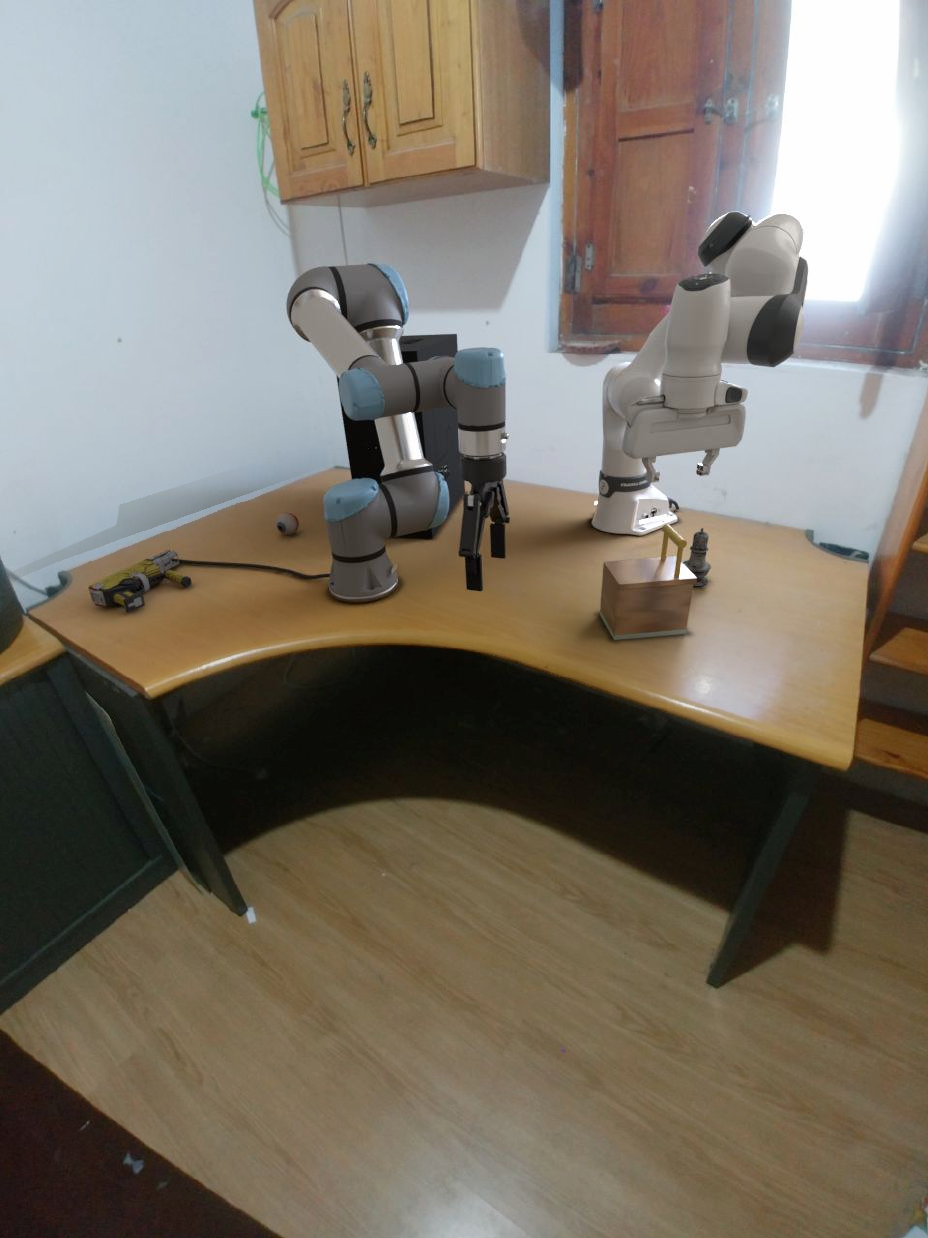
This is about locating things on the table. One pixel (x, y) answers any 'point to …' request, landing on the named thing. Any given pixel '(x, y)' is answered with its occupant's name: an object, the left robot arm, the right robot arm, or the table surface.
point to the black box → (432, 428)
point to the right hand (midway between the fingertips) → (677, 478)
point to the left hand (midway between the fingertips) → (487, 572)
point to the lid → (652, 567)
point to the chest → (644, 609)
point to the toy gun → (136, 582)
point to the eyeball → (287, 523)
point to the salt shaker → (699, 558)
